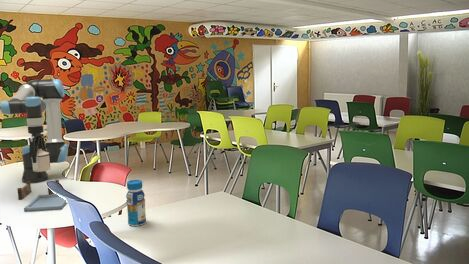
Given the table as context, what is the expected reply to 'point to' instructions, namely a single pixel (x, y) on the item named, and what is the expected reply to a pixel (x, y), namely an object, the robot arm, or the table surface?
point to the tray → (46, 203)
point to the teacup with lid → (43, 161)
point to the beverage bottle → (135, 203)
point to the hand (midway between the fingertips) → (39, 166)
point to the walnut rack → (29, 190)
